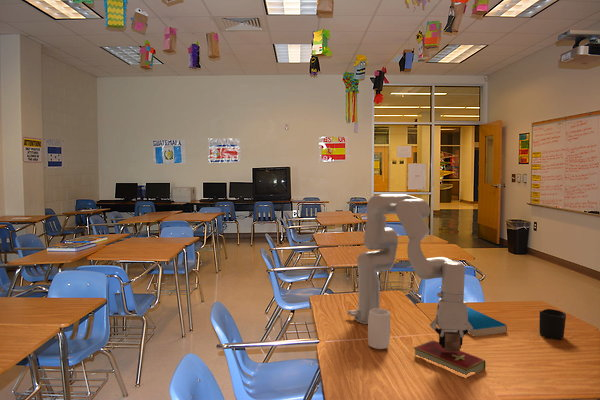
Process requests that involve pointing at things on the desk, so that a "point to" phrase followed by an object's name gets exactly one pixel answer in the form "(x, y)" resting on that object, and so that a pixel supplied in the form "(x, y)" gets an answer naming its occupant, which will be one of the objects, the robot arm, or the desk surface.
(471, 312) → the book
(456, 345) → the walnut block
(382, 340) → the cup
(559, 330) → the pen holder
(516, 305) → the desk surface
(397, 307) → the desk surface
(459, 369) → the hardcover book
